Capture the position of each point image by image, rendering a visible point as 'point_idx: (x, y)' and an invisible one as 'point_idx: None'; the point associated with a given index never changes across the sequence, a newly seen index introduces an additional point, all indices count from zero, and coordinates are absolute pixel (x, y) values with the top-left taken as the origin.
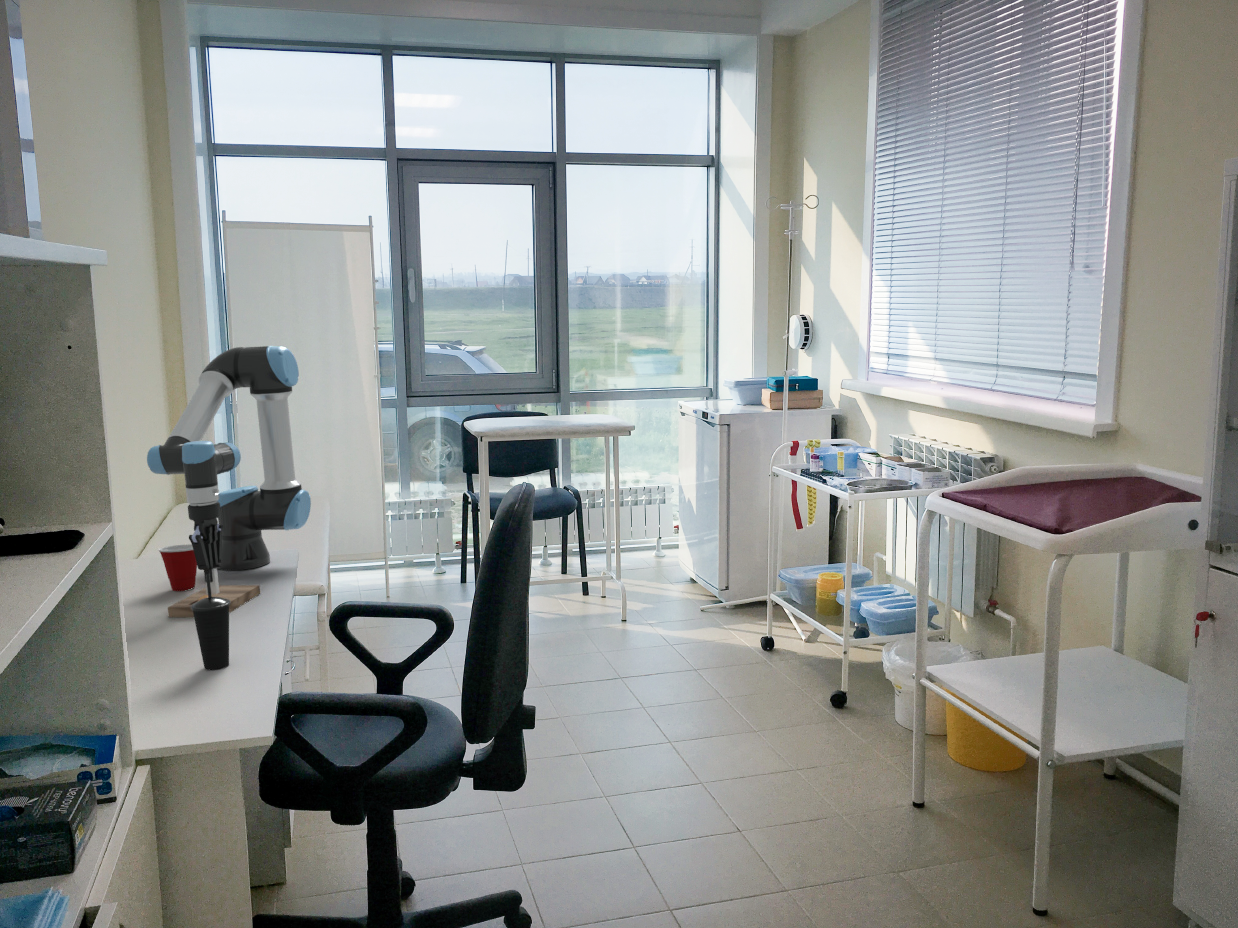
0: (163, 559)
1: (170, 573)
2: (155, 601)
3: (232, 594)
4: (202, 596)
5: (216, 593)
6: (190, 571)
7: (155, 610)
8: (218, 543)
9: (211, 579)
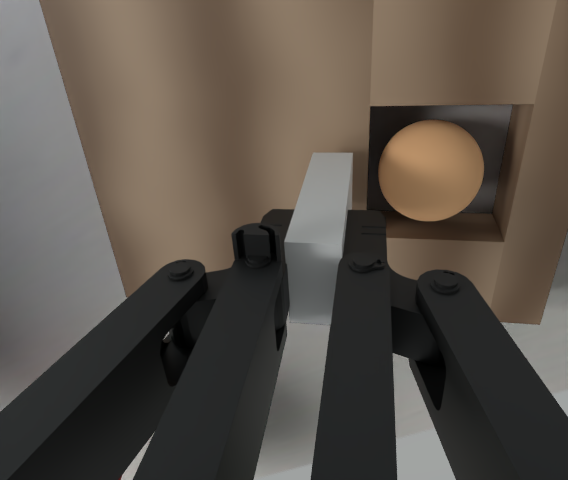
0: None
1: (120, 478)
2: (271, 418)
3: (277, 72)
4: (447, 203)
5: (352, 154)
6: None
7: (397, 378)
8: (66, 435)
9: (365, 219)
